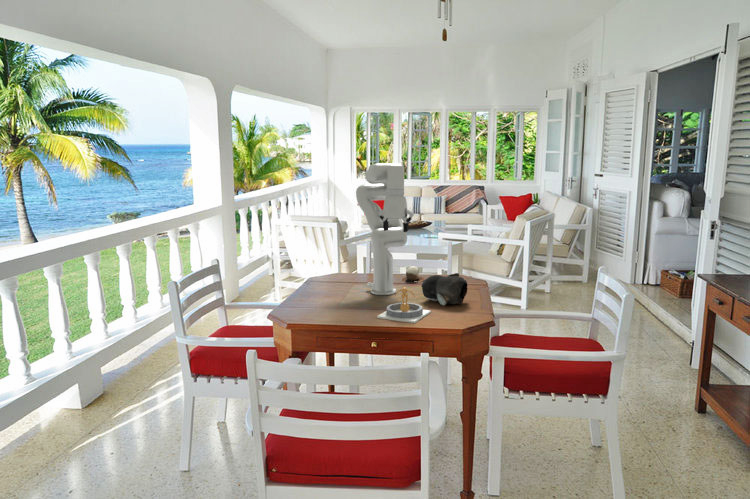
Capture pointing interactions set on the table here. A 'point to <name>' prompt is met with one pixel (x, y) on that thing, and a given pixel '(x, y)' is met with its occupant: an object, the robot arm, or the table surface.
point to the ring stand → (404, 313)
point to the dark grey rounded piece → (445, 289)
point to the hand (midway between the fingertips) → (395, 231)
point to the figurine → (404, 306)
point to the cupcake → (412, 275)
